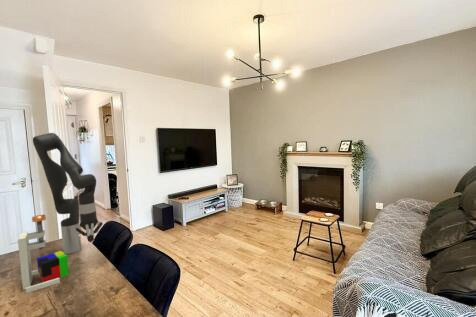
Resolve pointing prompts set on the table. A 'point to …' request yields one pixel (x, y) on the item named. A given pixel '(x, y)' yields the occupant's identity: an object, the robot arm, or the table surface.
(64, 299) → the table surface
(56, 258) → the puzzle toy
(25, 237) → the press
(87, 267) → the table surface
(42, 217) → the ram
